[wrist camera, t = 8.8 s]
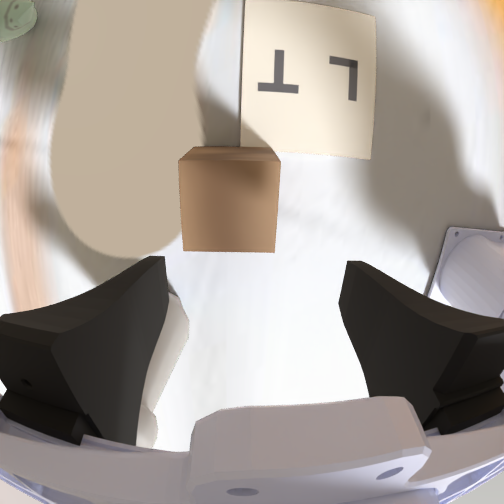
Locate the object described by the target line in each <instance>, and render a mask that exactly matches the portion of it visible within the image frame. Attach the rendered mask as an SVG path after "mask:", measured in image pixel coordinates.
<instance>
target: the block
mask: <svg viewBox="0 0 504 504" xmlns="http://www.w3.org/2000/svg"><path fill="white" fill-rule="evenodd" d="M178 163H179V189H180V209H181V224H182V239H183V251H205V252H267V253H275V241H276V227H277V213H278V198H279V183H280V167H281V161H280V160H279V158H278V157H277V155H276V154H275V152H274V151H273V149H272V148H268V147H229V146H210V147H193V148H192V149H191V150H190V151H189V152H188V153H186V154H185V156H183V157H182V158H181V159H180V160H179V161H178Z"/></svg>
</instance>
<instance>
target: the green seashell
mask: <svg viewBox="0 0 504 504" xmlns="http://www.w3.org/2000/svg"><path fill="white" fill-rule="evenodd" d="M34 3H35V2H32V1H29V0H0V42H6V41H9V40H12V39H15V38H17V37H19V36H21V35H23V34H25V33H27V32H28V31H29V30H30V29H31V28H33V27H34V26H35V23H36V20H37V17H38V16H37V11H36V9H35V7H34Z"/></svg>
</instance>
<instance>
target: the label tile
mask: <svg viewBox="0 0 504 504" xmlns="http://www.w3.org/2000/svg"><path fill="white" fill-rule="evenodd" d="M375 92H376V18H375V17H374V16H371V15H367V14H363V13H359V12H355V11H350V10H346V9H341V8H336V7H331V6H325V5H319V4H312V3H305V2H297V1H288V0H245V20H244V44H243V70H242V99H241V133H240V147H268V148H272V149H273V151H274V152H291V153H306V154H319V155H330V156H340V157H350V158H358V159H367V160H371V150H372V139H373V127H374V112H375Z"/></svg>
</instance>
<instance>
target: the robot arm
mask: <svg viewBox="0 0 504 504" xmlns="http://www.w3.org/2000/svg"><path fill="white" fill-rule="evenodd" d="M455 232H456V234H455ZM338 304H339V308H340V312H341V316H342V319H343V323H344V326H345V328H346V330H347V333H348V335H349V338H350V340H351V342H352V345H353V347H354V349H355V352H356V354H357V357H358V359H359V361H360V364H361V367H362V370H363V373H364V376H365V380H366V384H367V388H368V392H369V397H370V398H363V399H355V400H347V401H338V402H327V403H315V404H300V405H276V406H244V407H236V408H228V409H220V410H218V411H216V412H214V413H212V414H210V415H208V416H206V417H204V418H202V419H200V420H198V421H196V423H195V426H194V429H193V432H192V434H191V442H190V451H188V452H171V451H164V450H157V449H150V448H144V447H138V446H136V440H137V430H138V421H139V413H140V407H141V401H142V395H143V389H144V384H145V379H146V375H147V370H148V367H149V364H150V361H151V358H152V355H153V352H154V350H155V347H156V344H157V341H158V339H159V336H160V333H161V331H162V328H163V325H164V322H165V319H166V314H167V310H168V305H169V292H168V284H167V275H166V265H165V256H149V257H146V258H144V259H143V260H141V261H139V262H138V263H136V264H134V265H133V266H131V267H130V268H128V269H126V270H125V271H123V272H122V273H120V274H118V275H117V276H115V277H113V278H112V279H110V280H108V281H106V282H105V283H103V284H101V285H99V286H97V287H95V288H93V289H91V290H89V291H87V292H85V293H83V294H80V295H78V296H76V297H73V298H70V299H67V300H65V301H62V302H59V303H56V304H53V305H49V306H46V307H42V308H38V309H34V310H29V311H23V312H17V313H10V314H3V315H2V316H1V317H0V379H1V381H2V382H3V384H4V386H5V387H6V389H7V390H6V392H5V394H4V396H2V395H1V394H0V479H1V480H3V481H4V482H6V483H7V484H9V485H11V486H13V487H14V488H16V489H18V490H19V491H21V492H23V493H25V494H27V495H29V496H30V497H32V498H34V499H36V500H38V501H40V502H42V503H44V504H448V503H449V502H452V501H454V500H455V499H457V498H459V497H461V496H463V495H465V494H466V493H468V492H470V491H472V490H474V489H475V488H477V487H479V486H480V485H482V484H484V483H485V482H487V481H488V480H490V479H492V478H493V477H495V476H496V475H498V474H499V473H501V472H502V471H504V232H501V231H491V230H481V229H471V228H460V227H450V228H449V229H448V230H447V233H446V237H445V241H444V245H443V248H442V252H441V256H440V259H439V262H438V266H437V269H436V272H435V276H434V279H433V282H432V285H431V288H430V291H429V294H428V296H424V295H422V294H420V293H418V292H416V291H414V290H413V289H411V288H409V287H407V286H405V285H403V284H402V283H400V282H398V281H397V280H395V279H393V278H392V277H390V276H388V275H386V274H385V273H383V272H381V271H380V270H378V269H376V268H375V267H373V266H371V265H369V264H367V263H365V262H362V261H347V265H346V270H345V275H344V280H343V284H342V289H341V294H340V298H339V303H338ZM448 305H451V306H452V307H451V306H448Z"/></svg>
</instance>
